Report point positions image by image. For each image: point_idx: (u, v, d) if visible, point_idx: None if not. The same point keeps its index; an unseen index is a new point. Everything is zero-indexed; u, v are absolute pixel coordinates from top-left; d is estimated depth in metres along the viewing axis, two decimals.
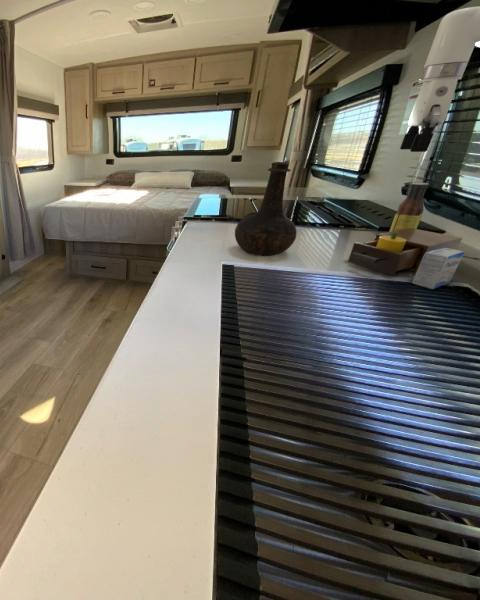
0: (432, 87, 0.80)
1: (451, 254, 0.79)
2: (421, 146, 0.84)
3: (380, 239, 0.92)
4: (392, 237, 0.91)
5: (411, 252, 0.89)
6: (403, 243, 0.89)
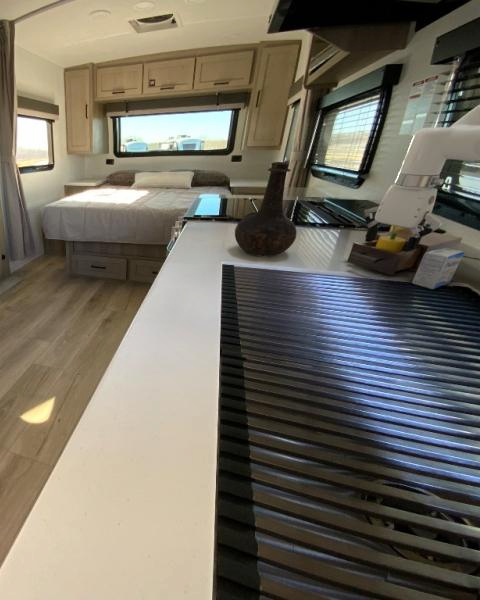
0: (426, 196, 0.82)
1: (451, 254, 0.79)
2: (415, 247, 0.87)
3: (379, 239, 0.92)
4: (391, 237, 0.91)
5: (410, 252, 0.89)
6: (402, 243, 0.89)
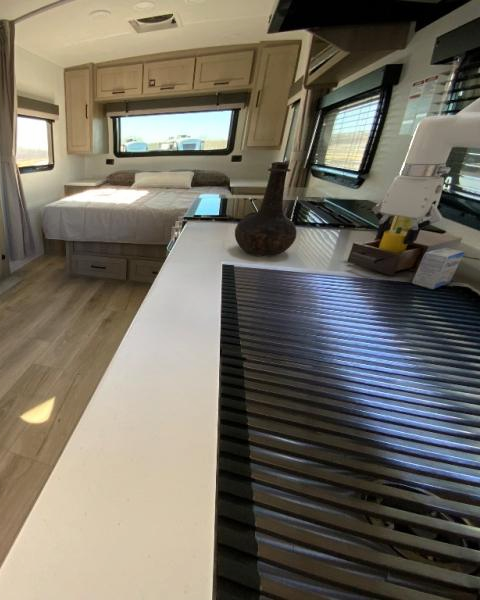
0: (433, 186, 0.81)
1: (451, 254, 0.79)
2: (414, 239, 0.87)
3: (385, 234, 0.92)
4: (397, 231, 0.90)
5: (410, 252, 0.88)
6: None
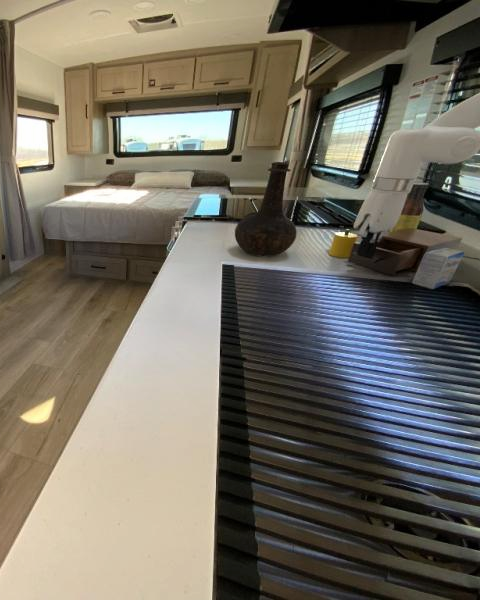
0: None
1: (451, 254, 0.79)
2: None
3: (335, 235, 1.03)
4: (345, 233, 1.02)
5: (411, 252, 0.89)
6: (354, 239, 1.00)
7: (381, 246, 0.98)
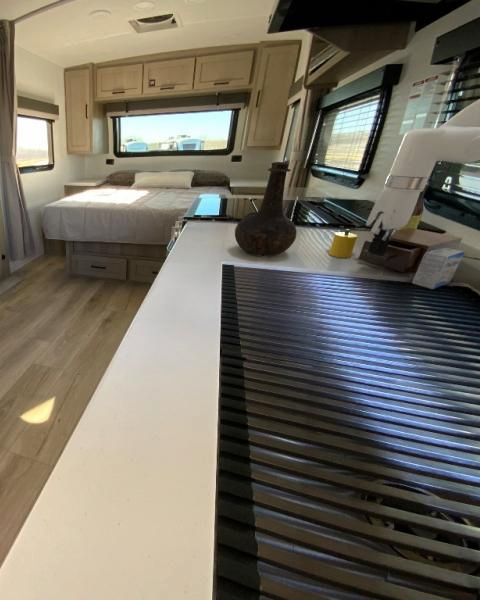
0: None
1: (451, 254, 0.79)
2: None
3: (335, 235, 1.03)
4: (345, 233, 1.02)
5: (422, 249, 0.90)
6: (354, 239, 1.00)
7: (391, 244, 1.00)
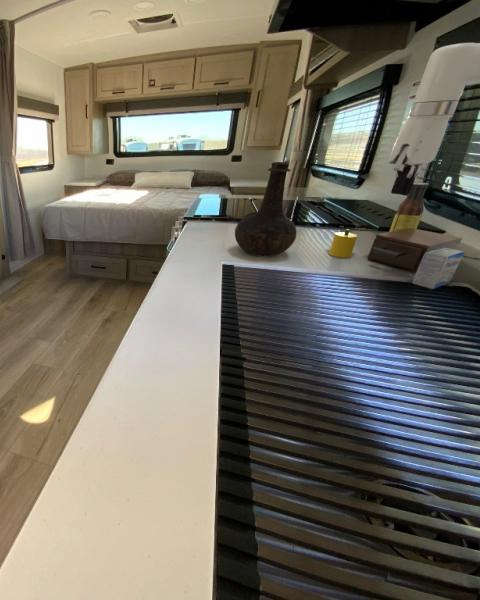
0: None
1: (451, 254, 0.79)
2: None
3: (335, 235, 1.03)
4: (345, 233, 1.02)
5: None
6: (354, 239, 1.00)
7: None
